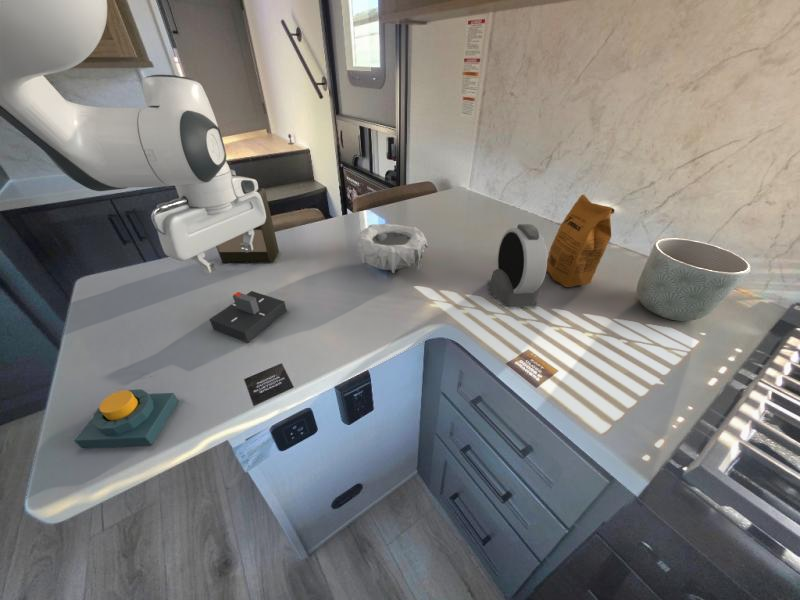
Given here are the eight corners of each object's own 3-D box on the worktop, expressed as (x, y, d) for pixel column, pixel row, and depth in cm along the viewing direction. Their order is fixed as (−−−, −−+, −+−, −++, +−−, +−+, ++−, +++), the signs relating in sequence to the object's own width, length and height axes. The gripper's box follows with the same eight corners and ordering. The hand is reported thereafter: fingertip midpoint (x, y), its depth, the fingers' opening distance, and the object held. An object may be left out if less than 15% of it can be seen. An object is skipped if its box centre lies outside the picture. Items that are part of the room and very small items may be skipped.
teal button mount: (81, 448, 47) (65, 433, 45) (117, 403, 53) (105, 387, 51) (152, 445, 48) (139, 430, 45) (178, 400, 54) (169, 385, 52)
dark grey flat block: (248, 343, 66) (244, 331, 64) (213, 329, 69) (208, 318, 67) (286, 311, 75) (284, 300, 73) (254, 300, 78) (251, 290, 76)
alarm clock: (482, 277, 89) (495, 214, 78) (517, 275, 90) (534, 213, 79) (503, 312, 76) (522, 242, 65) (544, 310, 77) (568, 241, 66)
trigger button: (99, 421, 47) (92, 413, 45) (117, 399, 50) (110, 390, 49) (128, 420, 47) (121, 412, 46) (144, 398, 50) (138, 389, 49)
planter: (701, 302, 81) (740, 249, 72) (714, 341, 69) (762, 282, 60) (625, 283, 88) (652, 232, 79) (625, 315, 76) (657, 259, 67)
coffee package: (568, 265, 96) (596, 191, 83) (595, 287, 86) (631, 208, 73) (538, 267, 94) (561, 192, 82) (561, 289, 84) (592, 209, 72)
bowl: (347, 278, 87) (344, 245, 81) (365, 246, 104) (364, 216, 98) (422, 286, 85) (424, 252, 79) (428, 251, 101) (431, 221, 95)
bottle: (229, 251, 99) (201, 167, 84) (281, 251, 100) (262, 167, 85) (218, 264, 92) (186, 175, 78) (274, 263, 93) (253, 175, 78)
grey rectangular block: (259, 310, 70) (255, 296, 68) (254, 314, 69) (249, 300, 66) (242, 304, 71) (237, 291, 69) (237, 308, 70) (232, 294, 68)
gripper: (161, 211, 46) (194, 290, 54) (263, 178, 61) (277, 244, 69) (133, 204, 48) (169, 281, 56) (239, 174, 63) (255, 238, 71)
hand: (230, 260), depth 63 cm, fingers open, 8 cm apart
